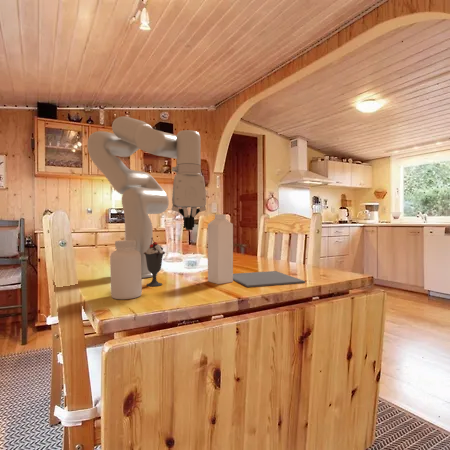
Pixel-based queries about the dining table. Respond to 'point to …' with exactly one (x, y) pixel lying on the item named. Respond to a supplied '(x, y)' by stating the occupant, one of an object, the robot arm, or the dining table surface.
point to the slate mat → (265, 279)
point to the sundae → (154, 261)
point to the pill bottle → (125, 270)
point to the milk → (220, 250)
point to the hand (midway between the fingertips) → (189, 229)
